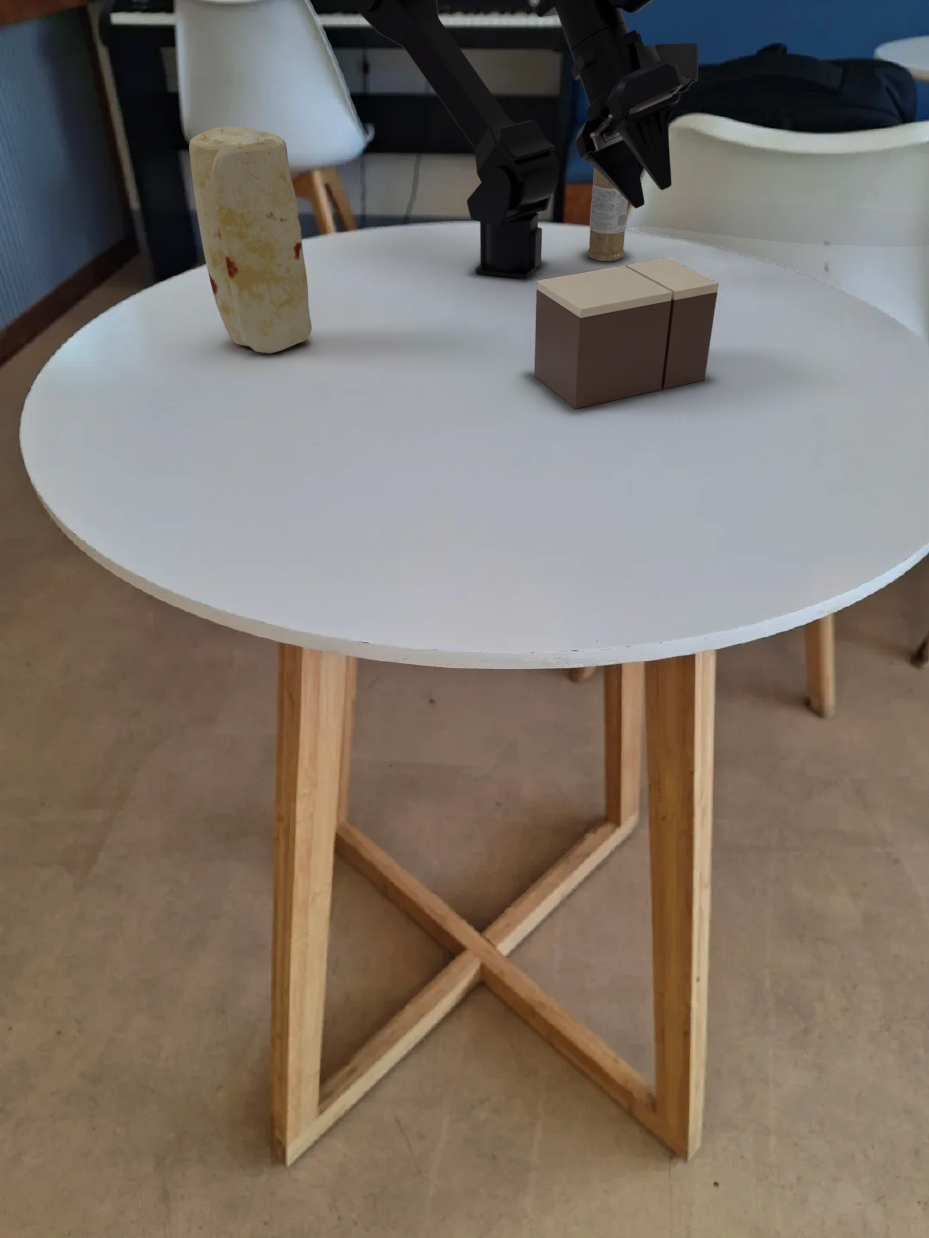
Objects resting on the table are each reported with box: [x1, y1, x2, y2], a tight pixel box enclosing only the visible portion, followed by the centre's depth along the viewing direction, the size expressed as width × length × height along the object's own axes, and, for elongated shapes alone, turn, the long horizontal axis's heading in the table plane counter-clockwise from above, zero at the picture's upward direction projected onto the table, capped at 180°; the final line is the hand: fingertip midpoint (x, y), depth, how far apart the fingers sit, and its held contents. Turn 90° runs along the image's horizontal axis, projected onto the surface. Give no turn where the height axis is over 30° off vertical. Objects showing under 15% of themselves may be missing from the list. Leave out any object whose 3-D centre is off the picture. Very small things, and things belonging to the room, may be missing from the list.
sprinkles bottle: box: [587, 167, 629, 262], centre depth 112 cm, size 5×5×14 cm
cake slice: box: [625, 257, 719, 390], centre depth 87 cm, size 8×4×9 cm, turn 24°
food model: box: [188, 126, 313, 355], centre depth 90 cm, size 10×7×20 cm
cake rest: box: [533, 265, 672, 410], centre depth 84 cm, size 8×9×9 cm
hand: (652, 198), depth 96 cm, fingers open, 9 cm apart
